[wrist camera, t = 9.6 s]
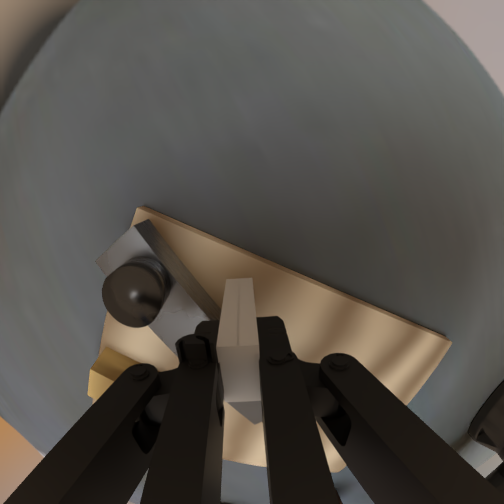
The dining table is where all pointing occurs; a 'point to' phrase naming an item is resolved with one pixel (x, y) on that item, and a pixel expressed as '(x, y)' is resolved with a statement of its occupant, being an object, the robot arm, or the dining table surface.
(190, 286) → the swing bar
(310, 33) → the dining table surface
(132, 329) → the door board
